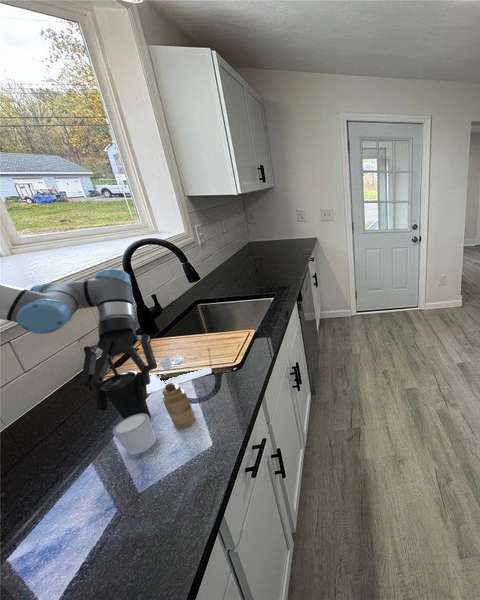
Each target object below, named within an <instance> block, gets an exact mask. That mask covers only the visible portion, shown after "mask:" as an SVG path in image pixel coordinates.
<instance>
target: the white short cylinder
mask: <svg viewBox="0 0 480 600" xmlns="http://www.w3.org/2000/svg"><path fill="white" fill-rule="evenodd" d="M112 434H113V435H114V436H115V438H116V439H117V440H118V442H119V443H120V444H121V446H122V447H123V448H124V450H126V452H127V454H128V455H132V456H134V455H138V454H141V453H145V452H146V451H147V450H149V449H150V448H151V447H153V445H154V444H155V443H156V442H157V441H156V439H157V438H156V434H155V432H154V429H153V426H152V422H151V418H150V419H149V416H148V415H147V414H143V413H141V414H136V415H133V416H130V417H128V418H126V419H122V420H120V422H117V424H116V425H115V426H114V427H113V429H112Z"/></svg>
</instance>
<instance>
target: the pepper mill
mask: <svg viewBox="0 0 480 600" xmlns="http://www.w3.org/2000/svg"><path fill="white" fill-rule="evenodd" d="M162 394H163V397H162V402H163V404H164V406H165V408H166V411H167V413H168V415H169V418H170V420H171V422H172V425H173V426H174V428H175V429H176V428H177V430H183V429H186V428H188V427H191V425H193V424H194V423H195V422H196V420H197V417H196V415H195V413H194V409H193V407H192V405H191V403H190V401H189V398H188V396H187V393H186V391H185V390H184V389H182V388H181V387H180V385H179V384H176V385H174V384H173V383H169V384H167V385H166V387H165V388H164V389H162Z"/></svg>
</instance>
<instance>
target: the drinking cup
mask: <svg viewBox="0 0 480 600" xmlns="http://www.w3.org/2000/svg"><path fill="white" fill-rule="evenodd" d="M107 361H108V363H109V365H110V366H109V368H110V369H111V370H112V373H113V375H111V376H109V377H107V378H106V379H104V380H103V382H102V383H101V385H100V389H101V390H102V391H104V392H105V394H106V397H107V398H108V399H109V401H110V402H111V403H112V405H113V406H114V408H115V409H116V410H117V412H118V413H119V414H120V416H121V418H122V420H124V419H126V418H128V417H130V416H133V415H136V414H141V413H143V414H147V415H148V416H149V419H150V420H151V417H152V416H151V413H150V410H149V406H148V404H147V400H146V399H142V398H139V390H138V380H137V373H138V371H136V370H127V371H122V372H118V371H117V369H116V367H115V365H114V363H113V360H112V361H111V359H110V358H108V359H107Z"/></svg>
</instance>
